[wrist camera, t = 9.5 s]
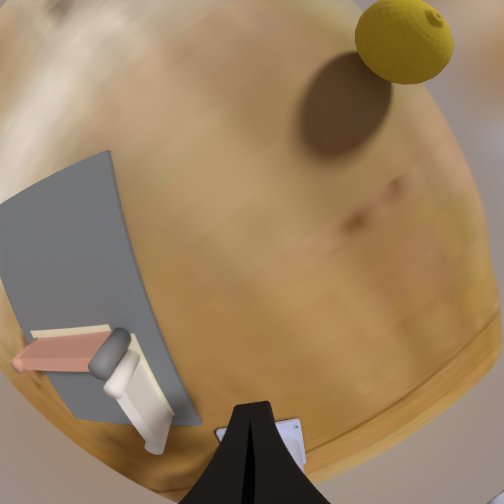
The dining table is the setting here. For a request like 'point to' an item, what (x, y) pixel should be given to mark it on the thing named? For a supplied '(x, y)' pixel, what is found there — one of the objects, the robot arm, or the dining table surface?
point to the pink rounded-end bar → (75, 353)
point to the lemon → (404, 41)
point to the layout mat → (90, 297)
